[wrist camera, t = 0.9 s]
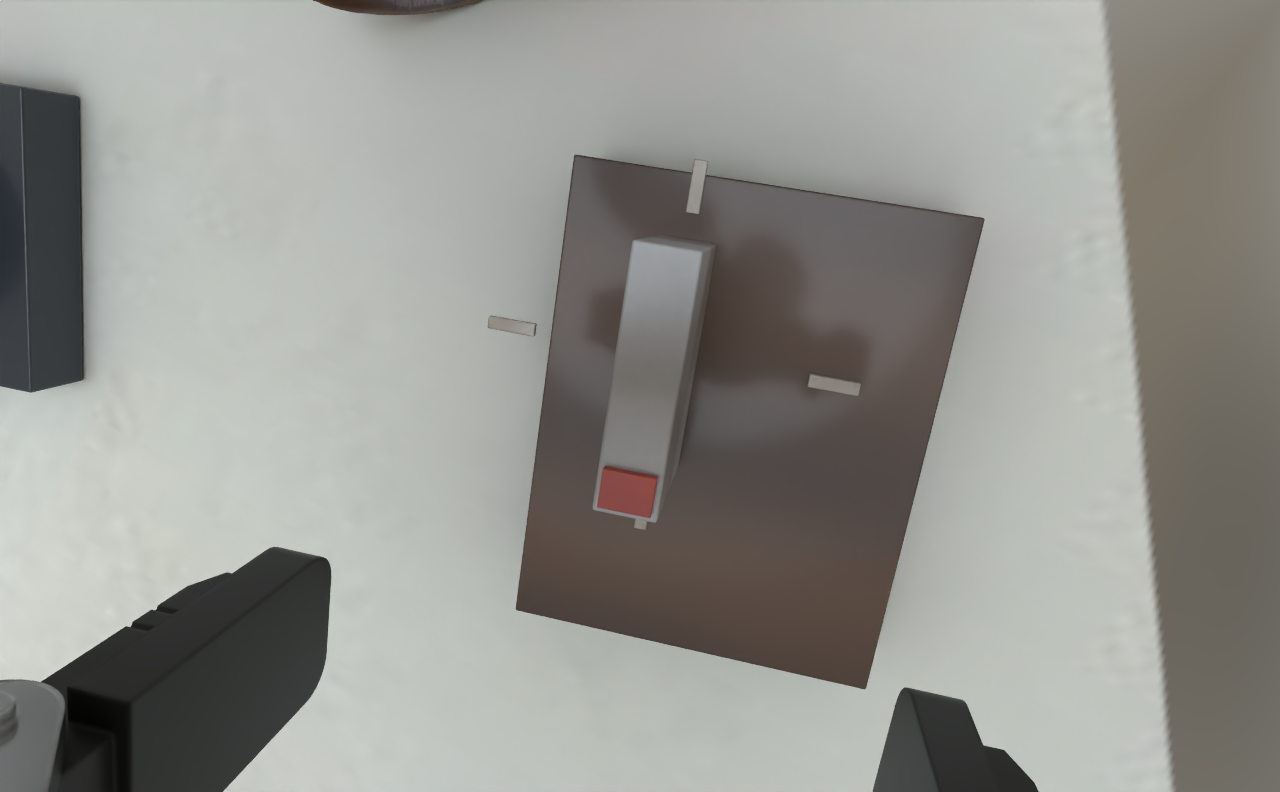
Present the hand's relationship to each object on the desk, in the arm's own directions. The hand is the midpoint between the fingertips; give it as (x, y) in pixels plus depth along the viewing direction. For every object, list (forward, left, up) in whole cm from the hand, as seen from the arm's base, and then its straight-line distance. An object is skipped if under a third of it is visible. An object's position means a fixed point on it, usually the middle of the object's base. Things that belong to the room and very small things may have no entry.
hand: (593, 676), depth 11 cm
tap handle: (-2, -1, -13) cm, 13 cm away
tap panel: (0, +1, -16) cm, 16 cm away
